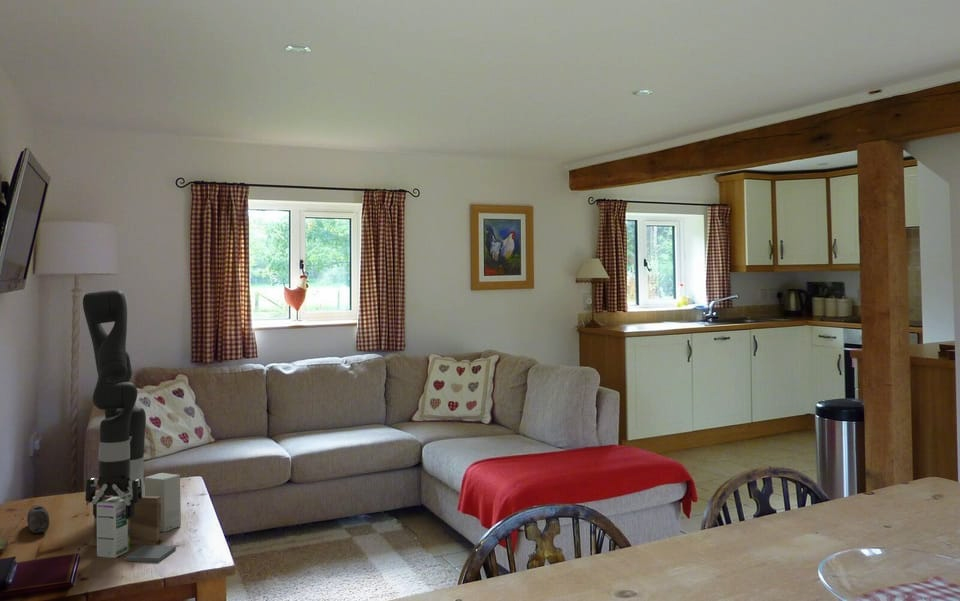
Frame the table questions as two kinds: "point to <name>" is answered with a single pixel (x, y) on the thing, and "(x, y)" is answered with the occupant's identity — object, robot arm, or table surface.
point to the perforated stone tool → (38, 519)
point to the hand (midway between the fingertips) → (113, 517)
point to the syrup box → (112, 528)
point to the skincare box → (166, 498)
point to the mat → (150, 553)
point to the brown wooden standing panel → (142, 522)
